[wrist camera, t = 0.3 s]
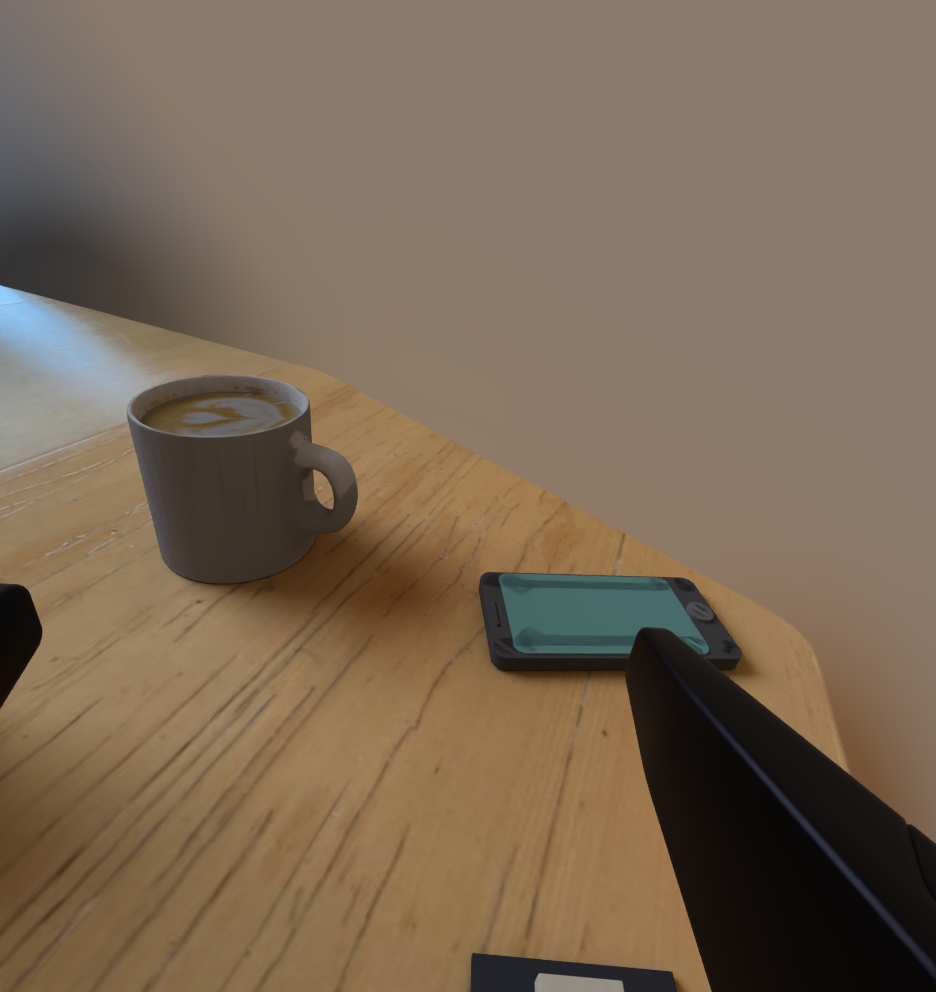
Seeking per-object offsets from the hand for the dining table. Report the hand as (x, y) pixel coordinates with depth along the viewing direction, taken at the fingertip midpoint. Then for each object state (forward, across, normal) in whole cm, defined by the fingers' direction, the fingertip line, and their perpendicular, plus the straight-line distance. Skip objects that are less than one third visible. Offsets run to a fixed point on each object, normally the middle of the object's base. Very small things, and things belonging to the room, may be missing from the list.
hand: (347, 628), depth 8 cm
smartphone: (+19, -12, +16) cm, 28 cm away
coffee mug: (+24, +10, +16) cm, 30 cm away
